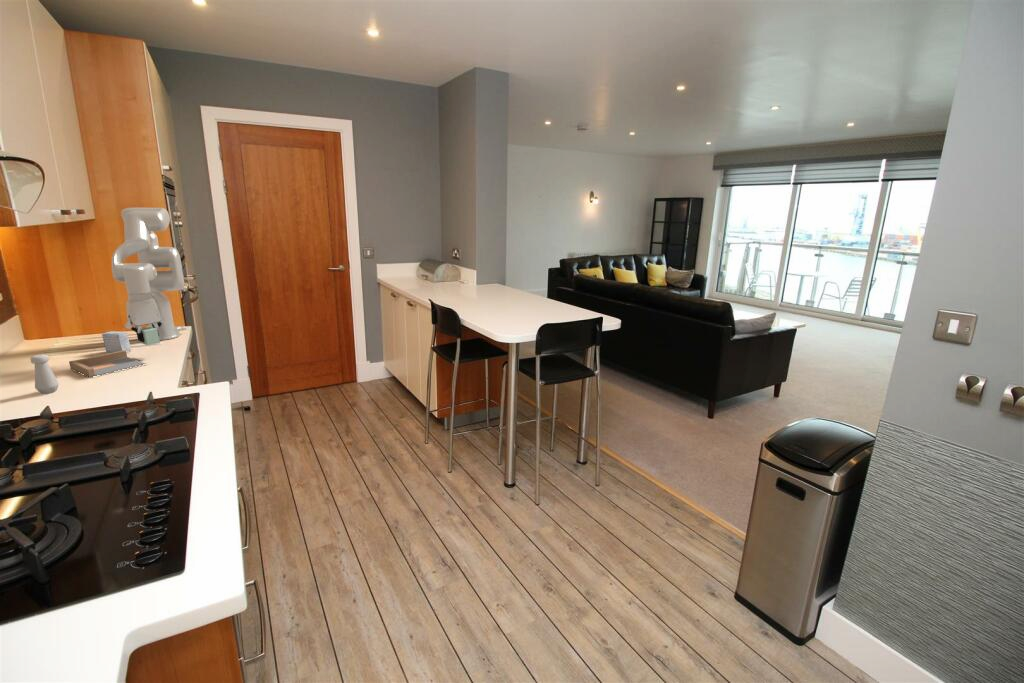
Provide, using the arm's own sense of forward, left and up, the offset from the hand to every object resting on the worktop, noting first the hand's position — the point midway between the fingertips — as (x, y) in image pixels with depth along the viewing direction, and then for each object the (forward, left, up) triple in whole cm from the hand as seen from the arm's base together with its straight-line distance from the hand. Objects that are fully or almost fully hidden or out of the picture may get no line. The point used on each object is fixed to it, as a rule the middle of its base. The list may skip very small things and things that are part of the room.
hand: (149, 339), depth 201 cm
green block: (0, 0, -1) cm, 1 cm away
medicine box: (+4, -20, -8) cm, 22 cm away
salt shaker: (+37, +15, -8) cm, 41 cm away
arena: (+15, +1, -8) cm, 17 cm away
